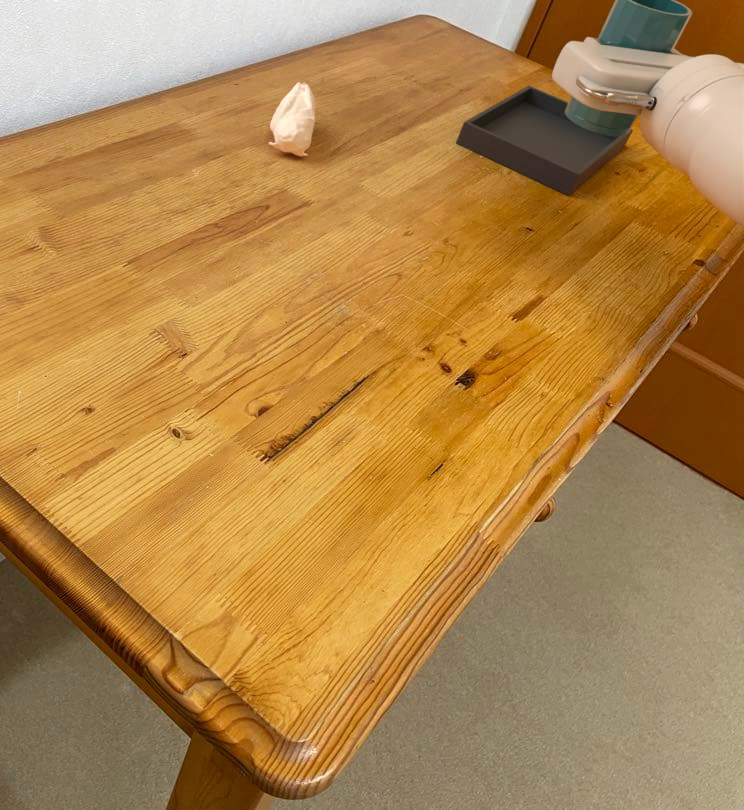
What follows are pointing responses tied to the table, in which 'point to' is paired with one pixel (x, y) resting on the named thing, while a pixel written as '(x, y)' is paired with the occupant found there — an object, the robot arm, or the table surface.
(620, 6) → the cup
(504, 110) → the tray
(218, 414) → the table surface
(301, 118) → the white crumpled piece
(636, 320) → the table surface
